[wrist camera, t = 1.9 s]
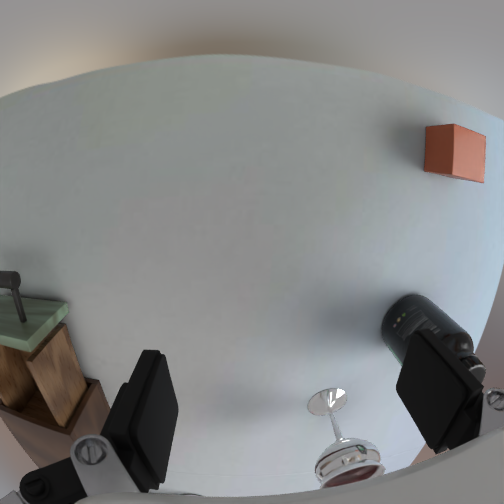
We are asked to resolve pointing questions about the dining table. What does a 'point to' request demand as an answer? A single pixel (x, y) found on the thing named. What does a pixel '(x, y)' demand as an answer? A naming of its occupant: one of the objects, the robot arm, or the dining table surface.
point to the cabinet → (53, 437)
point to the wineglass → (343, 448)
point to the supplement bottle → (430, 316)
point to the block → (455, 152)
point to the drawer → (37, 357)
